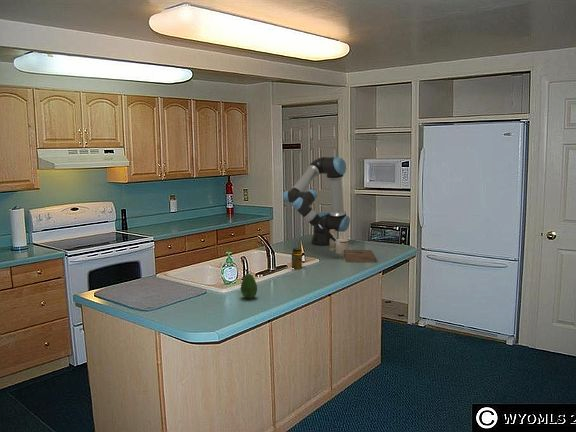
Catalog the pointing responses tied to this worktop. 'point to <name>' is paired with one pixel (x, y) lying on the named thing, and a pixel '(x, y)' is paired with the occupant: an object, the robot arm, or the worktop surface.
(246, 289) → the avocado
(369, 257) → the walnut hole block
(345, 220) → the robot arm
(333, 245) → the birch pin
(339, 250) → the teacup with lid
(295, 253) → the condiment
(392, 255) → the worktop surface
